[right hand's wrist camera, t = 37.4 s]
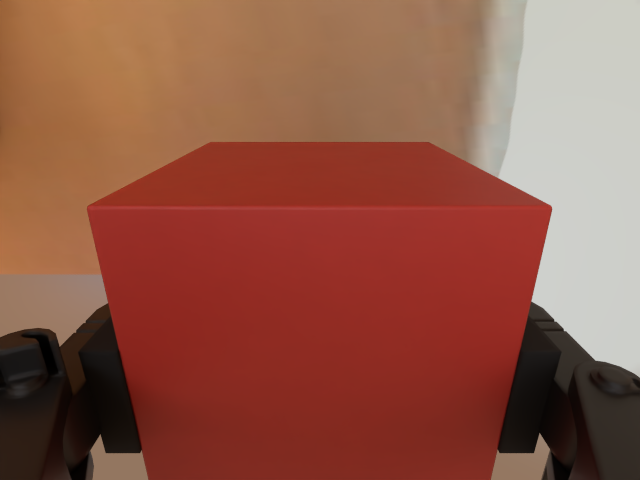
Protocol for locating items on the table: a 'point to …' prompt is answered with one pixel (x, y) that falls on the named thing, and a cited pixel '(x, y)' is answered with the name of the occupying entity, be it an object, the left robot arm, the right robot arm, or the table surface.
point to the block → (319, 309)
